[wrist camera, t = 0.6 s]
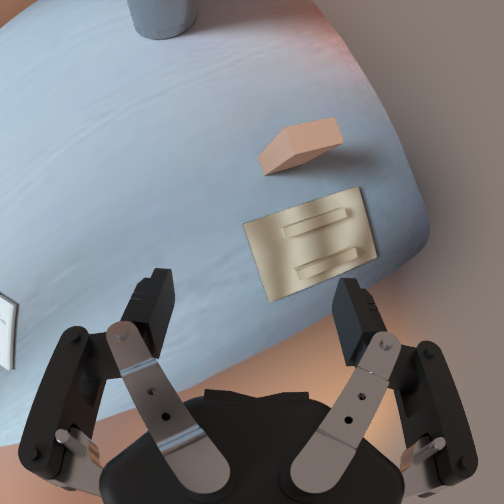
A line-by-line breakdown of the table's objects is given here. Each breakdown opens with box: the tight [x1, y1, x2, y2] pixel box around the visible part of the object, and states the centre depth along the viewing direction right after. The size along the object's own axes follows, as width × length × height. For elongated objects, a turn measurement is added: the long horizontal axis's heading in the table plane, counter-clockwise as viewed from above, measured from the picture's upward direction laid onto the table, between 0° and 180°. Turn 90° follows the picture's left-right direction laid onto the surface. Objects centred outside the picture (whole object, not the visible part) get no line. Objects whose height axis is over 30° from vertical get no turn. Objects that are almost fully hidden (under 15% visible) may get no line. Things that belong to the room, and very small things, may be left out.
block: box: [258, 117, 344, 176], centre depth 29 cm, size 5×2×12 cm, turn 109°
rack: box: [242, 187, 377, 302], centre depth 35 cm, size 16×10×3 cm, turn 109°
